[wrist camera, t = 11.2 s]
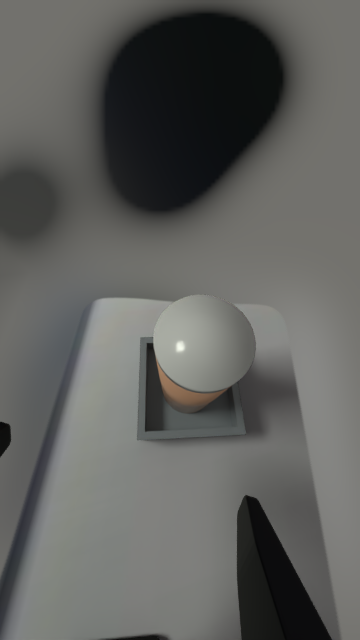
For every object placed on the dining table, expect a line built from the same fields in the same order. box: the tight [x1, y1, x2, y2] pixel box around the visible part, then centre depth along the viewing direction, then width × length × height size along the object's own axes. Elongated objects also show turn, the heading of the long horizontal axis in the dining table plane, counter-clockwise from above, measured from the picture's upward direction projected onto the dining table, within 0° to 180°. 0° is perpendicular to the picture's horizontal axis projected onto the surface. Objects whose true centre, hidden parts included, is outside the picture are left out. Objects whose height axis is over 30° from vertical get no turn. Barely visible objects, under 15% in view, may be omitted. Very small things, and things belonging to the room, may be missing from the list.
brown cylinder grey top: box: [153, 295, 256, 414], centre depth 17 cm, size 5×5×12 cm
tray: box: [137, 337, 246, 440], centre depth 22 cm, size 9×9×2 cm
